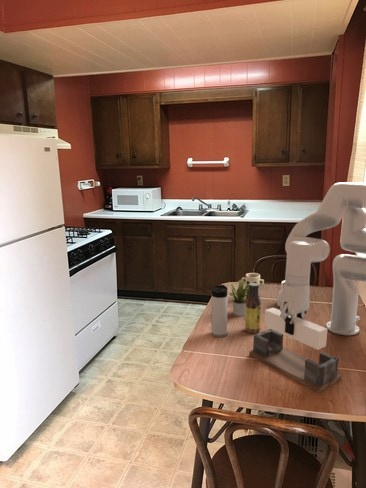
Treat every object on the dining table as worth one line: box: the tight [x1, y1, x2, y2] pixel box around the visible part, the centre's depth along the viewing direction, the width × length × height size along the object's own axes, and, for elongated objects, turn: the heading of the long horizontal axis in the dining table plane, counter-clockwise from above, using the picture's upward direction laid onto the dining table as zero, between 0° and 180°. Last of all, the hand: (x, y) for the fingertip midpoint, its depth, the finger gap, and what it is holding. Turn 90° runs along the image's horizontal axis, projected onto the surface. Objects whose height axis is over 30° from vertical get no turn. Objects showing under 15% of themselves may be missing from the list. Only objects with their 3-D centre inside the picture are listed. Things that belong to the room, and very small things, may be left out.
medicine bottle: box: [277, 280, 285, 307], centre depth 187 cm, size 7×7×12 cm
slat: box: [264, 307, 328, 351], centre depth 131 cm, size 22×4×6 cm, turn 37°
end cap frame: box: [248, 328, 342, 394], centre depth 134 cm, size 12×29×8 cm, turn 37°
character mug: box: [241, 272, 265, 298], centre depth 194 cm, size 11×7×13 cm, turn 68°
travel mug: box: [210, 284, 229, 338], centre depth 157 cm, size 6×7×20 cm
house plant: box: [227, 279, 253, 317], centre depth 176 cm, size 14×14×16 cm
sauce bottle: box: [244, 283, 262, 334], centre depth 160 cm, size 7×6×20 cm
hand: (293, 331), depth 131 cm, fingers closed on slat, 4 cm apart
